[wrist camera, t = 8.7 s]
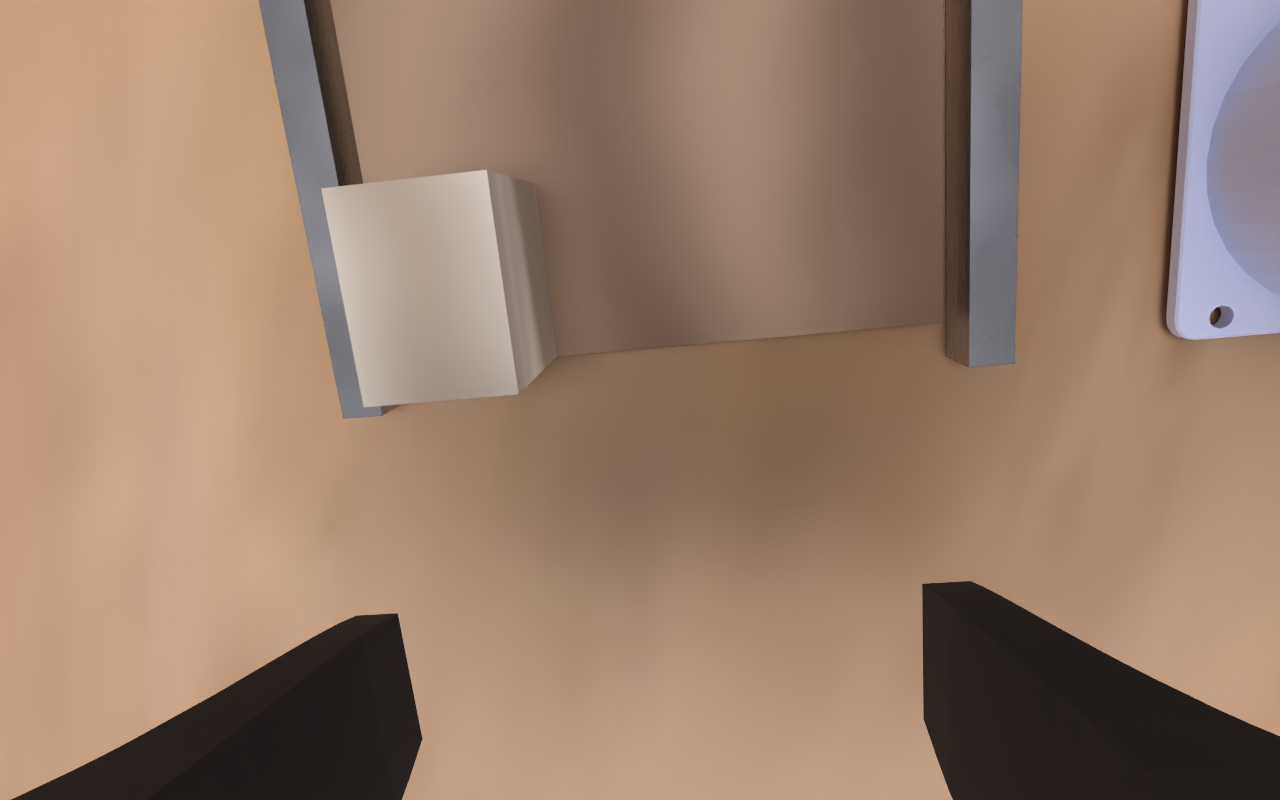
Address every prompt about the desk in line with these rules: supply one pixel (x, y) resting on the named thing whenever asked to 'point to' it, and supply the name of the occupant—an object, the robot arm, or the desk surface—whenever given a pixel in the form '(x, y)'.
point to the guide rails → (974, 170)
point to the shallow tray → (630, 180)
